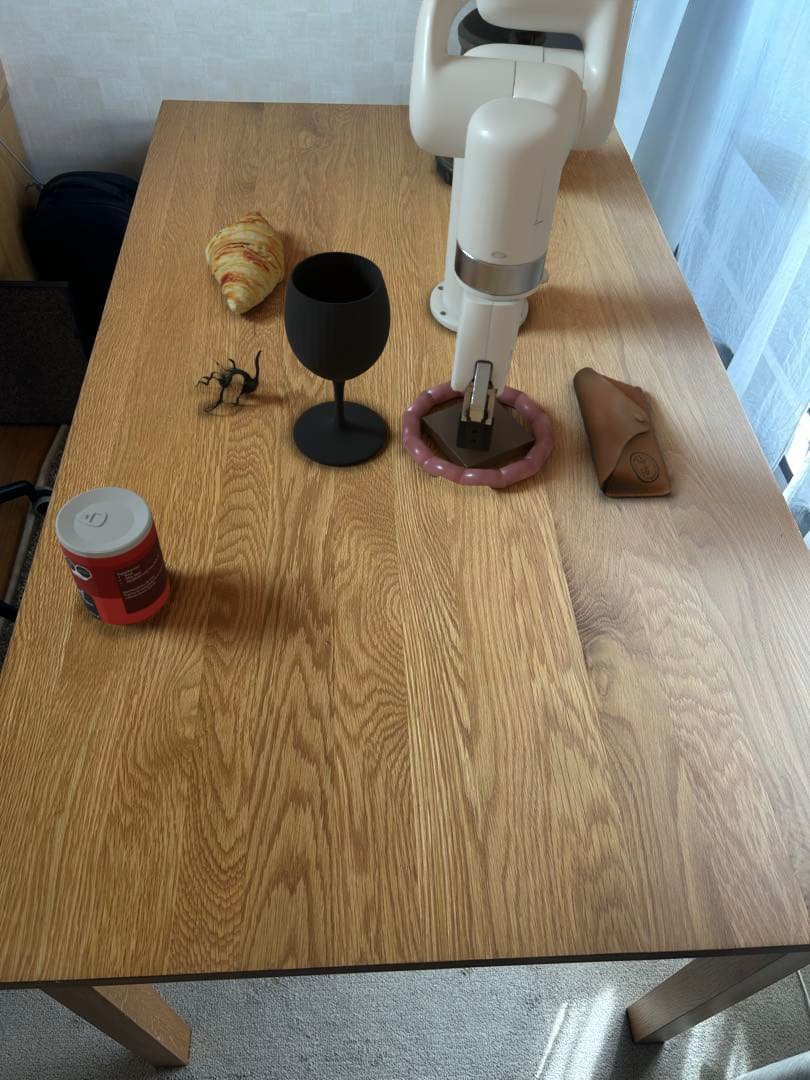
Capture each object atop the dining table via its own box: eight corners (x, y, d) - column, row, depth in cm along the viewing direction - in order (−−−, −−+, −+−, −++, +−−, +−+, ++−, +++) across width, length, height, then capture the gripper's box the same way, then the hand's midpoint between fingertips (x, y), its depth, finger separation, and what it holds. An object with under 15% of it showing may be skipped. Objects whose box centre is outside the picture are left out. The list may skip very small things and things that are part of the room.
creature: (189, 419, 102) (254, 418, 100) (172, 381, 98) (239, 379, 96) (213, 376, 107) (275, 374, 105) (197, 338, 103) (261, 336, 101)
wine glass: (399, 416, 102) (406, 260, 87) (367, 477, 95) (369, 320, 80) (314, 393, 104) (307, 237, 89) (277, 452, 97) (262, 294, 82)
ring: (454, 512, 93) (456, 499, 91) (374, 417, 102) (374, 404, 100) (580, 458, 99) (584, 445, 97) (494, 373, 108) (496, 359, 106)
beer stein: (485, 135, 147) (504, -38, 128) (575, 182, 139) (610, 4, 120) (411, 166, 140) (420, -14, 121) (501, 218, 131) (526, 33, 112)
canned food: (90, 566, 86) (61, 487, 78) (175, 563, 87) (155, 484, 78) (78, 632, 81) (46, 555, 73) (168, 628, 82) (147, 551, 74)
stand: (486, 402, 104) (496, 334, 97) (533, 449, 99) (547, 381, 92) (421, 427, 101) (426, 359, 94) (466, 477, 96) (475, 410, 89)
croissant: (264, 344, 115) (291, 298, 109) (189, 312, 111) (212, 263, 105) (275, 250, 128) (299, 205, 123) (208, 218, 124) (230, 170, 119)
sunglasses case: (678, 493, 95) (660, 454, 90) (614, 517, 97) (594, 480, 93) (640, 383, 107) (623, 344, 102) (584, 407, 109) (565, 369, 104)
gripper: (467, 201, 81) (452, 354, 94) (440, 315, 70) (427, 470, 83) (550, 212, 80) (523, 363, 93) (537, 328, 69) (508, 482, 82)
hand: (478, 413), depth 88 cm, fingers open, 9 cm apart
